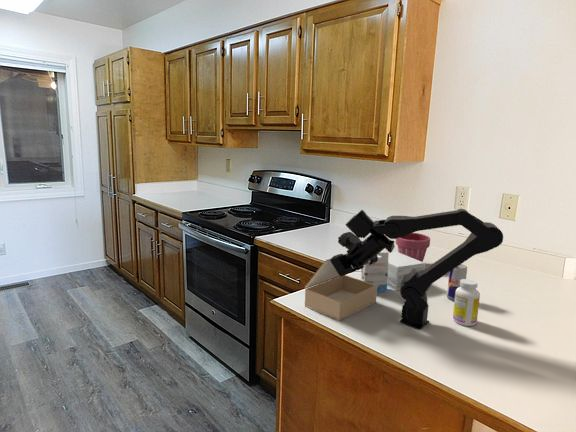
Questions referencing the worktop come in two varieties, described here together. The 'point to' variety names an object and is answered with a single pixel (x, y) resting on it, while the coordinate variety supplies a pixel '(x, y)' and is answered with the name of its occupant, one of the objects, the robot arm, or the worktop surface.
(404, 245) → the plant pot
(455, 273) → the energy drink
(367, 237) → the robot arm
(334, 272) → the mailer lid
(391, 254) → the supplement box
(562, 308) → the worktop surface
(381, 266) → the ink box
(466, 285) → the supplement bottle
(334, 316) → the mailer box
